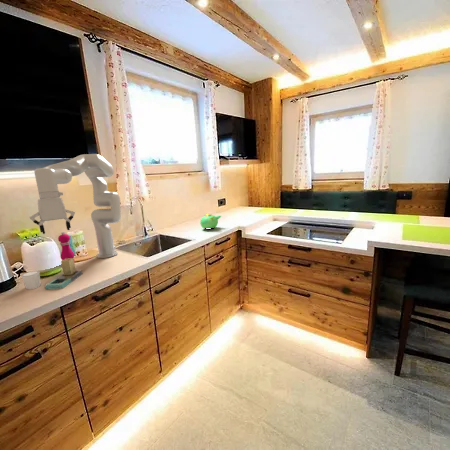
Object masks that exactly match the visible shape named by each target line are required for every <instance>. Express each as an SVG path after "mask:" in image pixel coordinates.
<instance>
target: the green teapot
mask: <svg viewBox="0 0 450 450" xmlns="http://www.w3.org/2000/svg"><path fill="white" fill-rule="evenodd" d="M221 217H222V215H217V216H215V215H214V214H209V213H206V214H205V215H204V216H202V217H201V219H200V222H199V223H200V226H201V227H202V228H203V229H204V228H214V227H215V228H217V226H218V224H219V219H221ZM215 228H214V229H215Z"/></svg>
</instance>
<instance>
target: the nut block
mask: <svg viewBox="0 0 450 450" xmlns="http://www.w3.org/2000/svg"><path fill="white" fill-rule="evenodd" d="M74 260H75V257H74V258H66V259H64V260H62V259H61V260H60V263H61V268H62V269H61V270H62V274H64V276H72V275H74V274H75V273H76V271H77V270H76V269H77V268H76V264H75V262H74Z"/></svg>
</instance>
